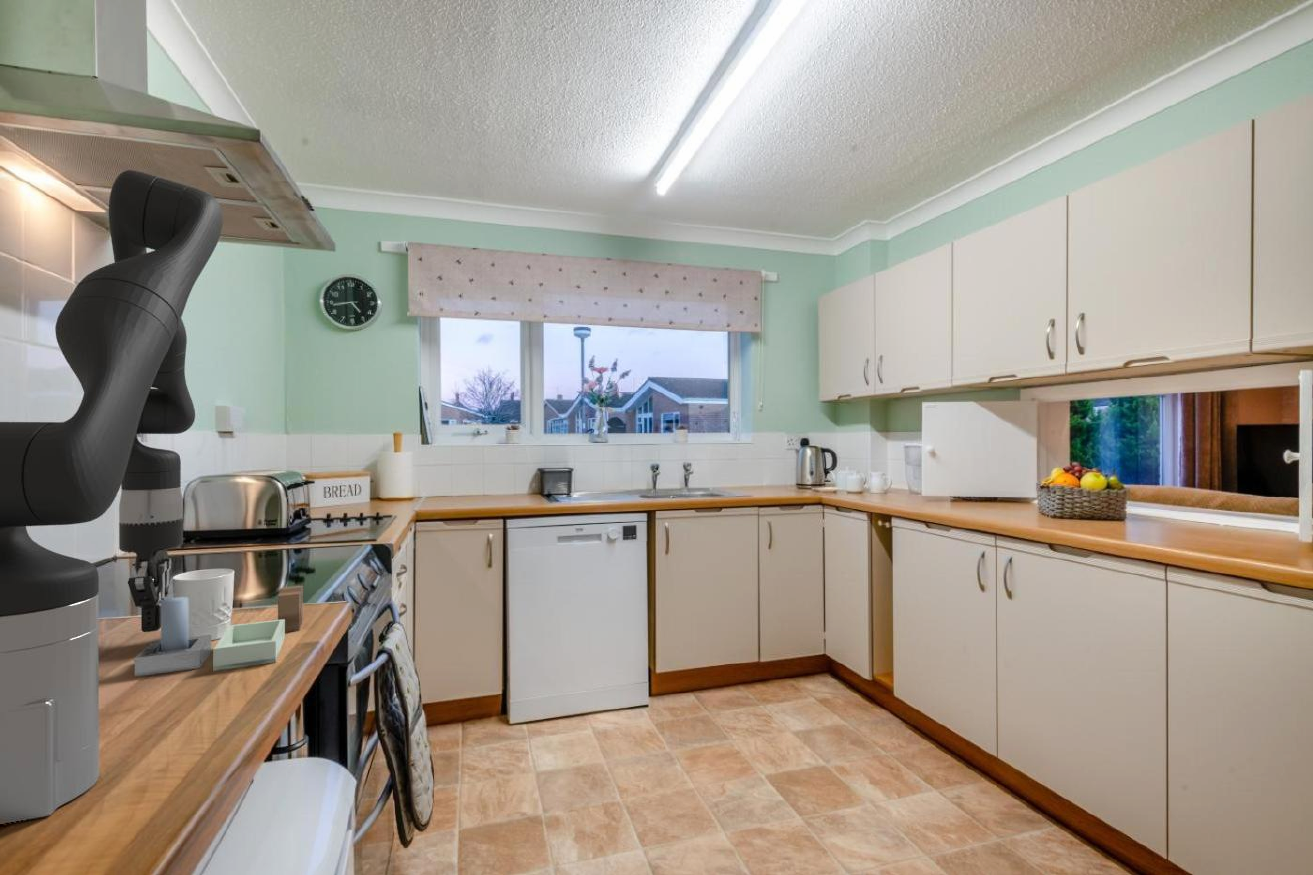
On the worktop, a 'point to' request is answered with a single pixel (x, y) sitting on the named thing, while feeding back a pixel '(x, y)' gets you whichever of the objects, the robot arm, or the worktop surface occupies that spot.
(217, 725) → the worktop surface
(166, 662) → the gray tray
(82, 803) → the worktop surface
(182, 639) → the slate-blue dowel
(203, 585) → the white cup
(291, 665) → the worktop surface
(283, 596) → the walnut block
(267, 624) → the pale green tray
